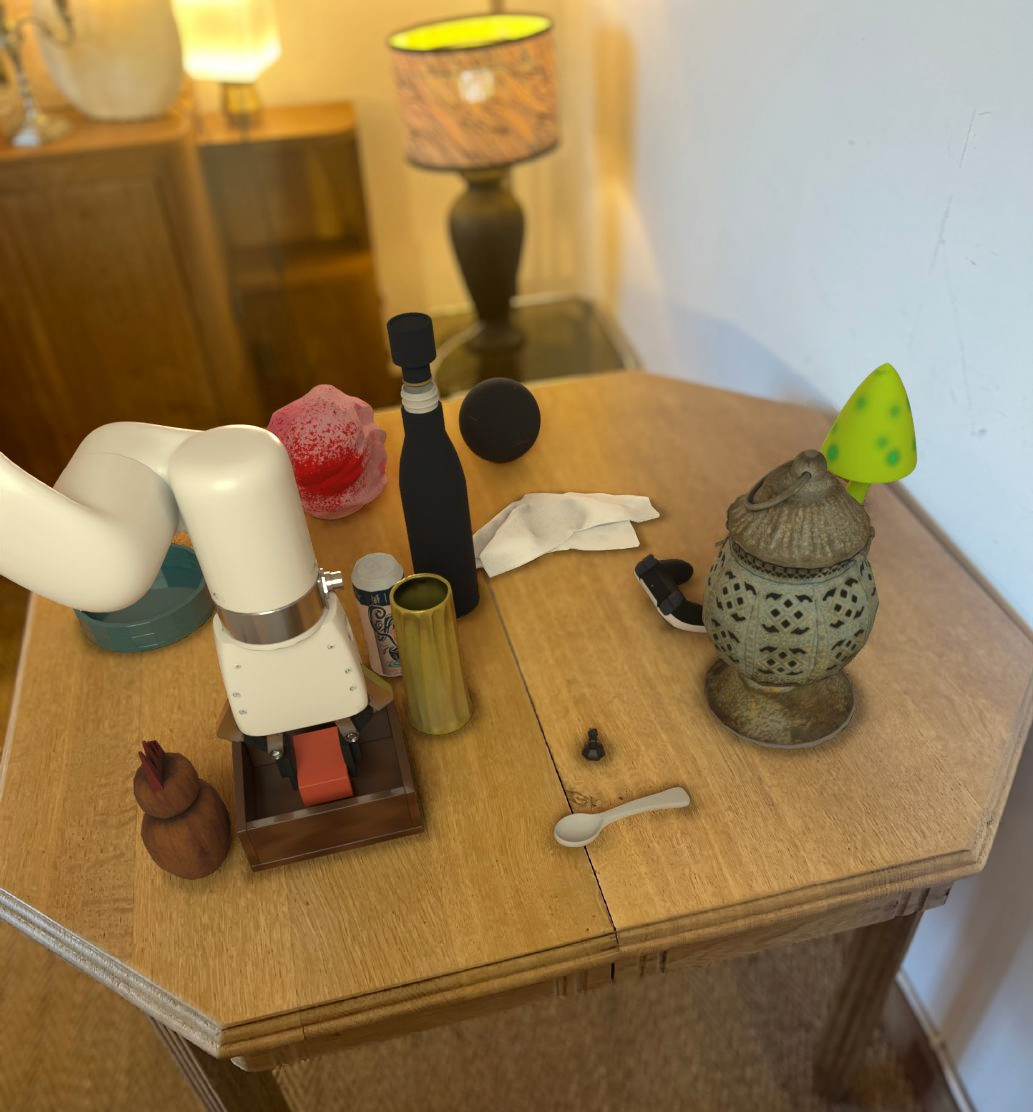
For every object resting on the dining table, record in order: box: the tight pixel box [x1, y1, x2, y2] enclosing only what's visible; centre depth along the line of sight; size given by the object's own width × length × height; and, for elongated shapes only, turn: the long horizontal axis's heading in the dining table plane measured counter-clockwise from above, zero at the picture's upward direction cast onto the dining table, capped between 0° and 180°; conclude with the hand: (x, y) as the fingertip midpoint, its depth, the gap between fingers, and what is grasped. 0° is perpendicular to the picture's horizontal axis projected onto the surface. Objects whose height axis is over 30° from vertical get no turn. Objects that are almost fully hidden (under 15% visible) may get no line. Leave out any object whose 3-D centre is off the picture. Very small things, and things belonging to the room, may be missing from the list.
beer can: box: [350, 552, 406, 678], centre depth 92 cm, size 5×5×12 cm
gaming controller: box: [633, 553, 707, 634], centre depth 98 cm, size 11×4×7 cm
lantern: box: [702, 449, 880, 750], centre depth 81 cm, size 14×14×25 cm
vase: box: [390, 573, 474, 736], centre depth 86 cm, size 6×6×14 cm
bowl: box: [72, 542, 216, 653], centre depth 104 cm, size 14×14×4 cm
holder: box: [231, 695, 425, 873], centre depth 82 cm, size 14×12×5 cm
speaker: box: [458, 377, 542, 464], centre depth 119 cm, size 10×10×10 cm
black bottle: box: [386, 311, 481, 619], centre depth 92 cm, size 6×6×30 cm
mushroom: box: [819, 362, 918, 506], centre depth 91 cm, size 8×8×25 cm
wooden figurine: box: [132, 739, 231, 881], centre depth 75 cm, size 7×6×15 cm
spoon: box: [553, 786, 691, 848], centre depth 80 cm, size 3×12×2 cm, turn 111°
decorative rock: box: [266, 383, 389, 520], centre depth 112 cm, size 19×14×15 cm
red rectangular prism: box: [293, 726, 353, 807], centre depth 81 cm, size 6×4×2 cm, turn 14°
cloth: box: [472, 491, 661, 579], centre depth 110 cm, size 26×14×2 cm, turn 102°
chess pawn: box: [581, 727, 606, 762], centre depth 85 cm, size 2×2×3 cm
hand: (323, 769), depth 82 cm, fingers closed on red rectangular prism, 4 cm apart
